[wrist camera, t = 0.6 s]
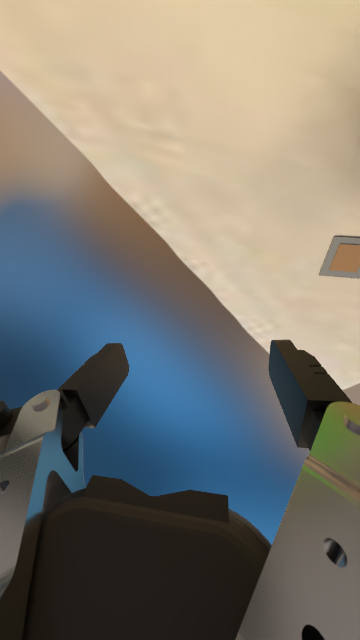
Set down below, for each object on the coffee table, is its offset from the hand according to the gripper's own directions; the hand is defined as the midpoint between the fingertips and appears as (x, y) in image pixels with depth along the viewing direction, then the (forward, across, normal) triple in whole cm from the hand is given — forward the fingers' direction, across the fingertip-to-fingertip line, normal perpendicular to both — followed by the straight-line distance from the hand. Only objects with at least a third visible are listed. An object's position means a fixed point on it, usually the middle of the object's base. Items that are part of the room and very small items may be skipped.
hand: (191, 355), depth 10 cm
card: (+27, -22, 0) cm, 35 cm away
